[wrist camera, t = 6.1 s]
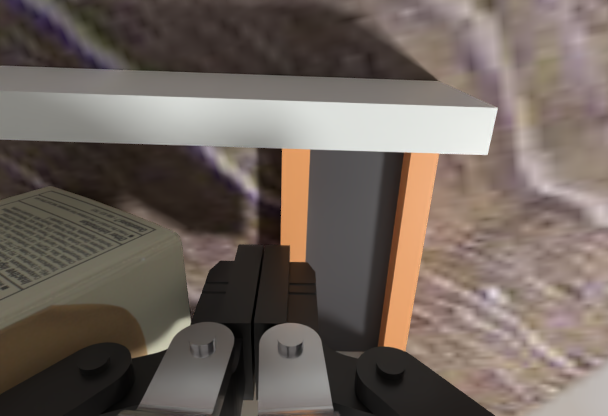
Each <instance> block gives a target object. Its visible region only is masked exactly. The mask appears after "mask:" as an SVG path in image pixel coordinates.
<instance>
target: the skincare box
mask: <svg viewBox="0 0 608 416" xmlns="http://www.w3.org/2000/svg"><path fill="white" fill-rule="evenodd" d="M190 324H191V319H190V309H189V300H188V291H187V283H186V275H185V267H184V258H183V247H182V242H181V239H180V237H179V235H178V234H177V233H176V232H174V231H172V230H170V229H167V228H164V227H162V226H160V225H158V224H155V223H153V222H150V221H147V220H145V219H143V218H140V217H138V216H135V215H133V214H130V213H127V212H124V211H121V210H119V209H116V208H113V207H111V206H108V205H105V204H103V203H100V202H97V201H94V200H92V199H89V198H86V197H83V196H80V195H77V194H74V193H71V192H68V191H65V190H62V189H59V188H56V187H53V186H48V187H44V188H40V189H37V190H33V191H30V192H26V193H23V194H20V195H16V196H13V197H9V198H6V199H2V200H0V394H2V393H3V392H5V391H7V390H9V389H11V388H12V387H14V386H16V385H18V384H19V383H21V382H23V381H25V380H27V379H28V378H30V377H32V376H34V375H36V374H37V373H39V372H41V371H43V370H45V369H46V368H48V367H50V366H52V365H53V364H55V363H57V362H59V361H61V360H62V359H64V358H66V357H68V356H70V355H71V354H73V353H75V352H77V351H79V350H81V349H83V348H85V347H87V346H90V345H94V344H98V343H105V342H112V343H118V344H121V345H123V346H125V347H126V348H127V349H128V350H129V351H130V353H131V358H136V357H140V356H145V355H149V354H154V353H157V352H161V351H163V350H166V349H168V347H169V345H170V343H171V341H172V339H173V338H174V336H175V335H176V334H177V333H178V332H180V331H181V330H182V329H184V328H186V327H188V326H190Z"/></svg>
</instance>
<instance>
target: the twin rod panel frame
mask: <svg viewBox="0 0 608 416" xmlns="http://www.w3.org/2000/svg"><path fill="white" fill-rule="evenodd" d="M497 109H498V108H497V107H495V106H493V105H490V104H488V103H486V102H484V101H482V100H480V99H477V98H475V97H473V96H471V95H469V94H466V93H464V92H462V91H460V90H458V89H456V88H453V87H451V86H449V85H447V84H445V83H443V82H440V81H423V80H395V79H367V78H339V77H310V76H282V75H254V74H225V73H197V72H169V71H140V70H112V69H84V68H56V67H27V66H0V140H29V141H61V142H92V143H124V144H156V145H187V146H219V147H251V148H282V187H281V245H290V262H308V263H309V265H310V266H311V267H312V268H313V270H314V271H315V274H316V291H317V308H318V325H319V334H320V337H321V339H322V340H323V342H324V343H325V344H326V345H327V346H328V347H330V348H331V349H333V350H334V351H336V352H338V353H340V354H343V355H346V356H350V357H354V358H359V357H360V356H361V354H362V353H364V352H365V351H367V350H369V349H371V348H374V347H382V346H386V347H393V348H397V349H400V350H403V351H405V350H406V344H407V339H408V333H409V327H410V321H411V315H412V309H413V303H414V298H415V292H416V286H417V280H418V274H419V268H420V262H421V257H422V251H423V245H424V239H425V233H426V227H427V221H428V215H429V210H430V204H431V198H432V192H433V186H434V180H435V174H436V169H437V163H438V157H439V153H440V154H472V155H488V150H489V146H490V141H491V137H492V132H493V127H494V123H495V118H496V114H497ZM257 415H258V400H256V383H255V392H254V400H243V404H242V410H241V416H257Z"/></svg>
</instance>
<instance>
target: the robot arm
mask: <svg viewBox="0 0 608 416" xmlns="http://www.w3.org/2000/svg"><path fill="white" fill-rule="evenodd" d="M255 383H256V400H258V415H257V416H495V415H493V414H492V413H491V412H489V411H488V410H486V409H485V408H484V407H482V406H481V405H479V404H478V403H477V402H475V401H474V400H473V399H471V398H470V397H468V396H467V395H466V394H464V393H463V392H461V391H460V390H459V389H457V388H456V387H455V386H453V385H452V384H450V383H449V382H448V381H446V380H445V379H443V378H442V377H441V376H439V375H438V374H437V373H435V372H434V371H432V370H431V369H430V368H428V367H427V366H425V365H424V364H423V363H421V362H420V361H419V360H417V359H416V358H414V357H413V356H412V355H410V354H408V353H407V352H405V351H403V350H400V349H397V348H393V347H386V346H382V347H374V348H371V349H369V350H367V351H365V352H364V353H362V354H361V356H360V357H359V358H354V357H350V356H346V355H343V354H340V353H338V352H336V351H334V350H333V349H331V348H330V347H328V346H327V345H326V344H325V343H324V342H323V340H322V339H321V337H320V334H319V325H318V308H317V291H316V274H315V271H314V270H313V268H312V267H311V266H310V265H309V263H308V262H290V245H266V246H265V251H264V245H239V246H238V249H237V253H236V257H235V261H220V262H219V263H217V264H216V265H215V266H214V267H213V268H212V269H211V270H210V271H209V273H208V276H207V279H206V282H205V285H204V287H203V290H202V294H201V296H200V299H199V302H198V304H197V307H196V310H195V313H194V316H193V318H192V321H191V324H190V326H188V327H186V328H184V329H182V330H181V331H180V332H178V333H177V334H176V335H175V336H174V338H173V339H172V341H171V343H170V345H169V347H168V349H166V350H163V351H161V352H157V353H154V354H149V355H145V356H140V357H136V358H131V353H130V351H129V350H128V349H127V348H126V347H125V346H123V345H121V344H118V343H112V342H105V343H98V344H94V345H90V346H87V347H85V348H83V349H81V350H79V351H77V352H75V353H73V354H71V355H70V356H68V357H66V358H64V359H62V360H61V361H59V362H57V363H55V364H53V365H52V366H50V367H48V368H46V369H45V370H43V371H41V372H39V373H37V374H36V375H34V376H32V377H30V378H28V379H27V380H25V381H23V382H21V383H19V384H18V385H16V386H14V387H12V388H11V389H9V390H7V391H5V392H3V393H2V394H0V416H241V410H242V404H243V400H254V392H255Z"/></svg>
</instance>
